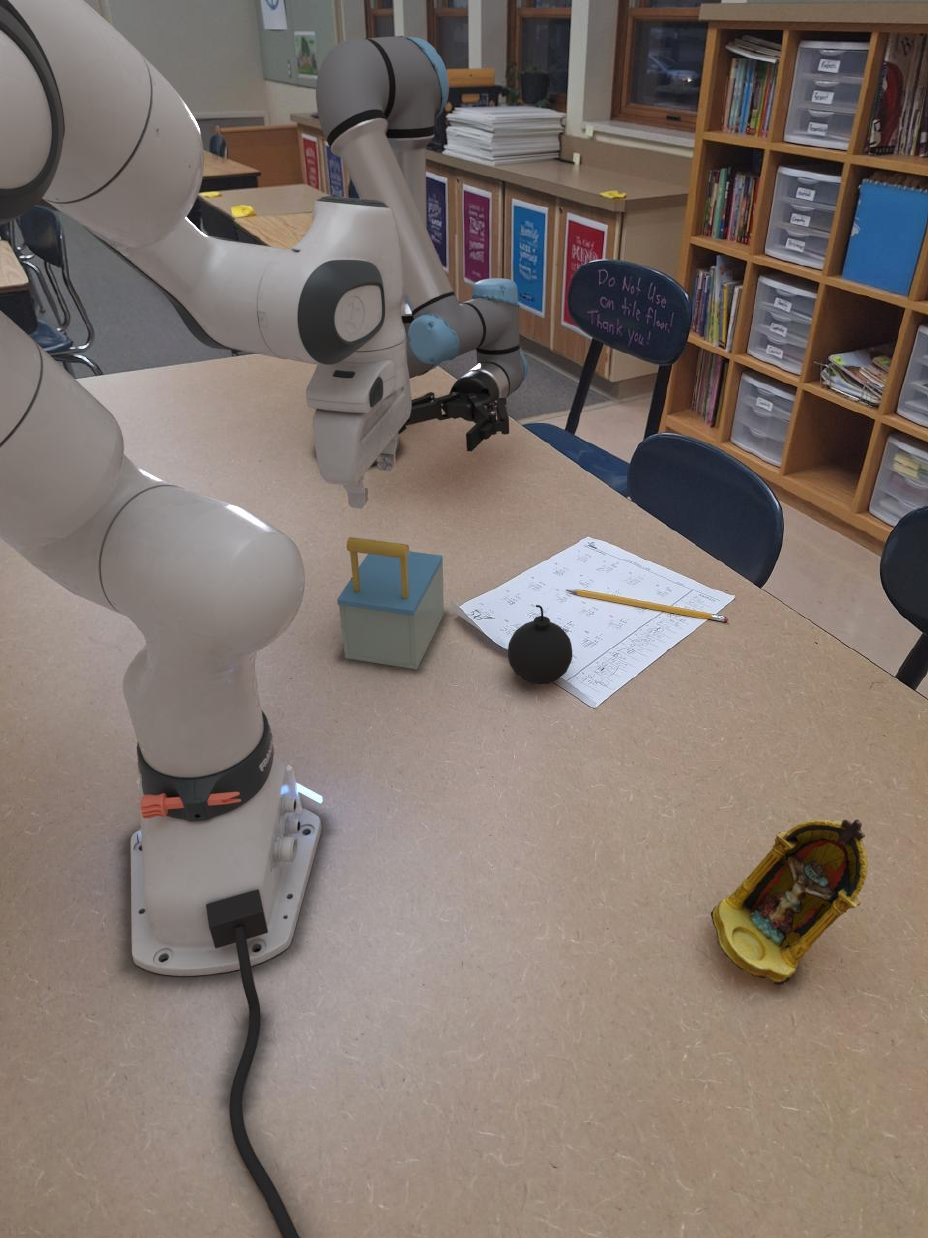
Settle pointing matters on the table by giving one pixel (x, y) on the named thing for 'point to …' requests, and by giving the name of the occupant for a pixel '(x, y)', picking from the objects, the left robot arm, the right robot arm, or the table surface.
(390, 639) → the chest
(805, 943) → the shrine
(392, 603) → the lid
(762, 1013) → the table surface
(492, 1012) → the table surface
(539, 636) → the bomb
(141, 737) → the left robot arm
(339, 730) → the table surface
